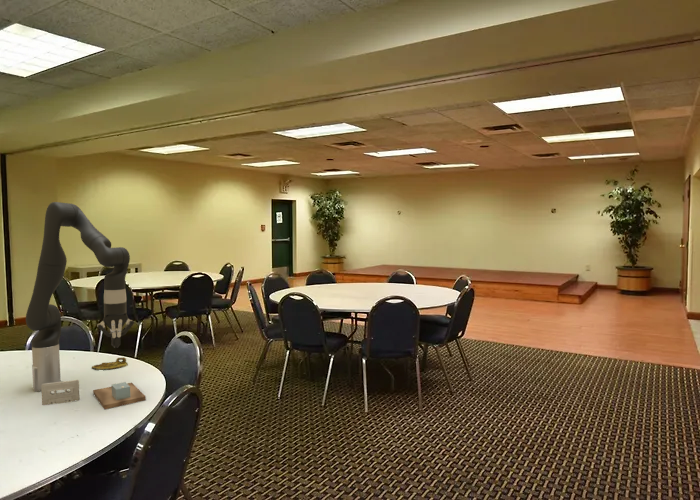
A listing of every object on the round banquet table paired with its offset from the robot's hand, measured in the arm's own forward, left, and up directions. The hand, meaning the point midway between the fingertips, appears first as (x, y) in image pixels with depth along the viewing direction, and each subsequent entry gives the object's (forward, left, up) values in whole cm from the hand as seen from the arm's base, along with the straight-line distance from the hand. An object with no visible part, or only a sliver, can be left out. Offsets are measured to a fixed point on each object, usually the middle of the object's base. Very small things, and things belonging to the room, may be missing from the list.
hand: (116, 347), depth 180 cm
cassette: (-17, +9, -20) cm, 28 cm away
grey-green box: (+1, -3, -18) cm, 18 cm away
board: (+1, +1, -20) cm, 20 cm away
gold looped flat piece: (+7, +46, -20) cm, 50 cm away
